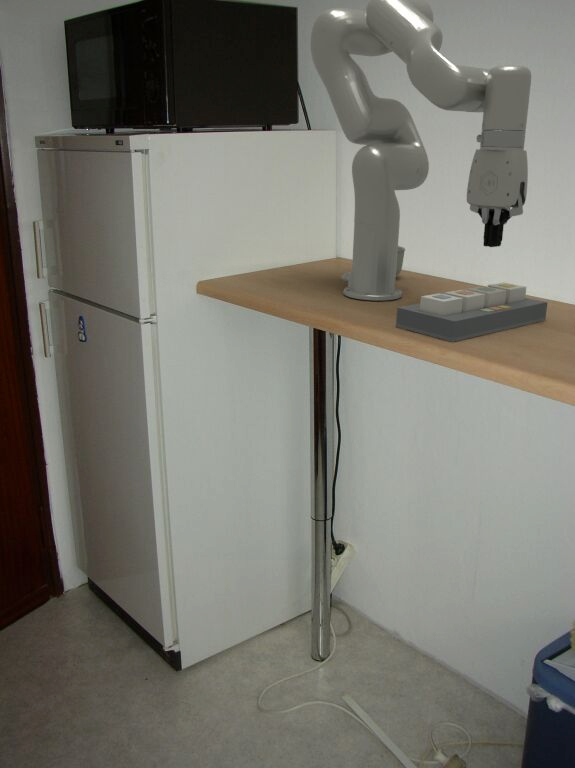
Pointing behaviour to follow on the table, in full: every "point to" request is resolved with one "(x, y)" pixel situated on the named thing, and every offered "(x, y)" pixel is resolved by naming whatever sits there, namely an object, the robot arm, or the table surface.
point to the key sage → (491, 295)
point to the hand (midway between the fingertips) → (492, 245)
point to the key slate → (441, 304)
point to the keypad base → (471, 319)
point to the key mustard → (511, 291)
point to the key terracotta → (469, 299)
